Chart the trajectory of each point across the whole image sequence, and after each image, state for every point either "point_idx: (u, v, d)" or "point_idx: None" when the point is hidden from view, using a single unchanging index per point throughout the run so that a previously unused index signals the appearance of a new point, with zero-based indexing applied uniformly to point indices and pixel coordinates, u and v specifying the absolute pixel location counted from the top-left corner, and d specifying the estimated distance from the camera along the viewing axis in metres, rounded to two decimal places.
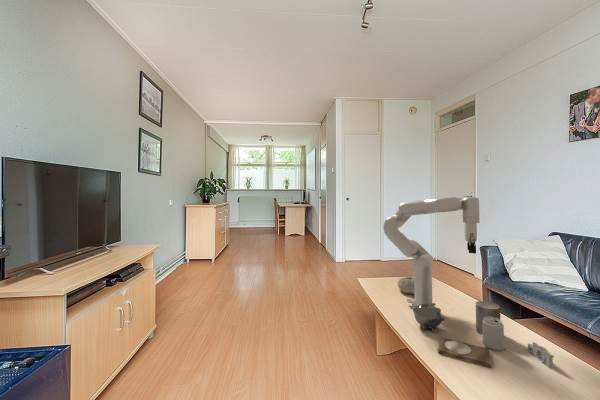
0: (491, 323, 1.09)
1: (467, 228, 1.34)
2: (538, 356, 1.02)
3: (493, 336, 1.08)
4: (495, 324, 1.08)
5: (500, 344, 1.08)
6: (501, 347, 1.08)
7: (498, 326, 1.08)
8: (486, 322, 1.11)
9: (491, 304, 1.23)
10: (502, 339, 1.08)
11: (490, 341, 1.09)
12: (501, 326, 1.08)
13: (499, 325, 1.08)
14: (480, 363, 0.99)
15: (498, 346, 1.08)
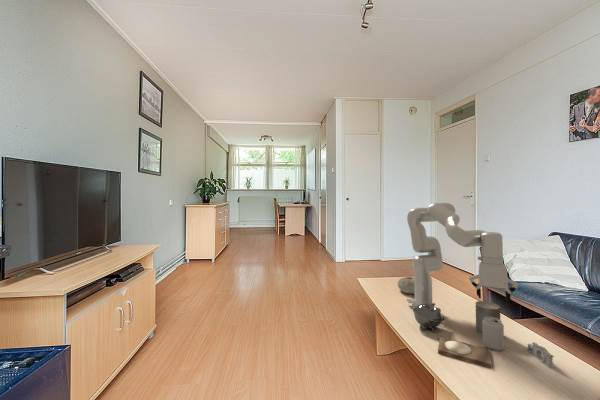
0: (491, 323, 1.09)
1: (506, 272, 1.07)
2: (538, 356, 1.02)
3: (493, 336, 1.08)
4: (495, 324, 1.08)
5: (500, 343, 1.08)
6: (501, 347, 1.08)
7: (498, 326, 1.08)
8: (486, 322, 1.11)
9: (491, 304, 1.23)
10: (502, 339, 1.08)
11: (490, 341, 1.09)
12: (501, 326, 1.08)
13: (499, 325, 1.08)
14: (480, 363, 0.99)
15: (498, 346, 1.08)
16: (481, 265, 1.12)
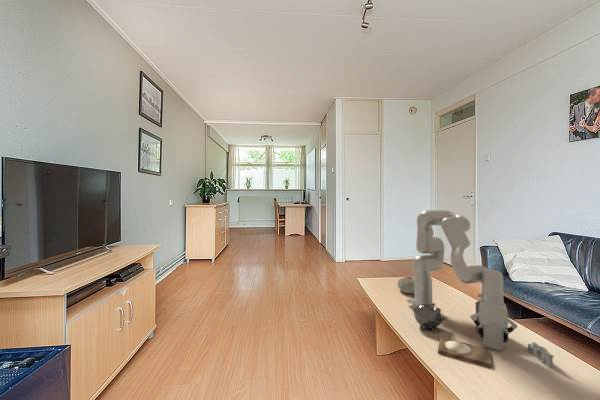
0: (491, 323, 1.09)
1: (506, 312, 1.07)
2: (538, 356, 1.02)
3: (493, 336, 1.08)
4: (495, 324, 1.08)
5: (500, 343, 1.08)
6: (501, 347, 1.08)
7: (498, 326, 1.08)
8: None
9: None
10: (502, 339, 1.08)
11: (490, 341, 1.09)
12: None
13: None
14: (480, 363, 0.99)
15: (498, 346, 1.08)
16: (481, 303, 1.12)
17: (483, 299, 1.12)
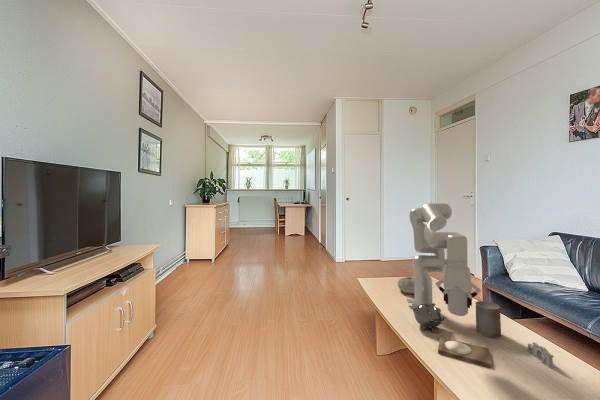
0: (455, 288, 1.06)
1: (470, 276, 1.04)
2: (538, 356, 1.02)
3: (457, 301, 1.05)
4: (459, 289, 1.06)
5: (463, 309, 1.05)
6: (464, 312, 1.05)
7: (462, 291, 1.05)
8: None
9: (491, 304, 1.23)
10: (466, 304, 1.05)
11: (454, 306, 1.06)
12: None
13: None
14: (480, 363, 0.99)
15: (462, 311, 1.05)
16: (446, 268, 1.09)
17: (447, 264, 1.09)
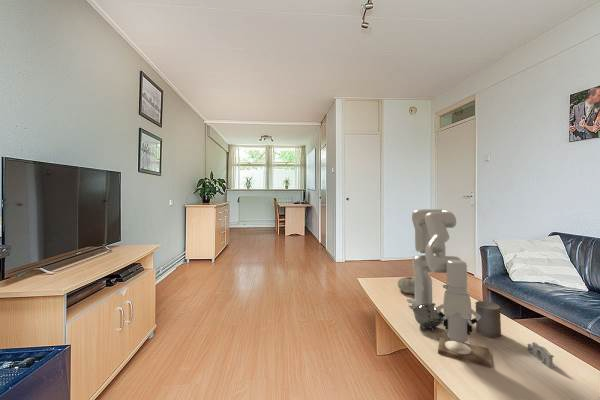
0: (455, 314, 1.06)
1: (470, 303, 1.04)
2: (538, 356, 1.02)
3: (457, 327, 1.05)
4: (459, 315, 1.05)
5: (463, 335, 1.05)
6: (465, 339, 1.05)
7: (461, 317, 1.05)
8: None
9: (491, 304, 1.23)
10: (466, 331, 1.05)
11: (454, 333, 1.06)
12: None
13: None
14: (480, 363, 0.99)
15: (462, 338, 1.05)
16: (446, 294, 1.09)
17: (447, 290, 1.09)
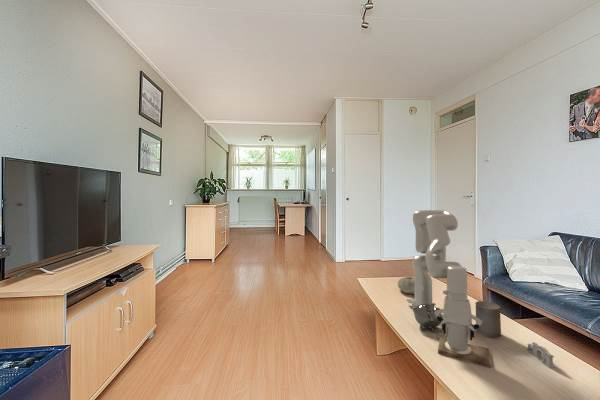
0: (455, 323, 1.06)
1: (470, 309, 1.04)
2: (538, 356, 1.02)
3: (456, 336, 1.05)
4: (458, 324, 1.06)
5: (463, 344, 1.05)
6: (464, 347, 1.05)
7: (461, 326, 1.05)
8: None
9: (491, 304, 1.23)
10: (465, 339, 1.05)
11: (454, 341, 1.06)
12: (464, 326, 1.05)
13: (462, 325, 1.05)
14: (480, 363, 0.99)
15: (462, 346, 1.05)
16: (446, 300, 1.09)
17: (447, 296, 1.09)
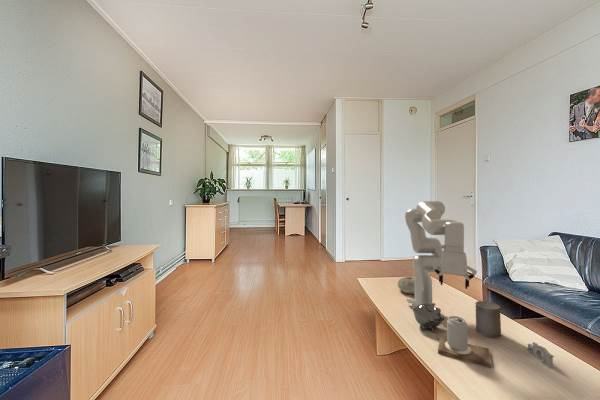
0: (455, 323, 1.06)
1: (466, 260, 1.11)
2: (538, 356, 1.02)
3: (456, 336, 1.05)
4: (458, 324, 1.06)
5: (463, 344, 1.05)
6: (464, 347, 1.05)
7: (461, 326, 1.05)
8: (450, 322, 1.08)
9: (491, 304, 1.23)
10: (465, 339, 1.05)
11: (454, 341, 1.06)
12: (464, 326, 1.05)
13: (462, 325, 1.05)
14: (480, 363, 0.99)
15: (462, 346, 1.05)
16: (443, 253, 1.16)
17: (445, 249, 1.16)
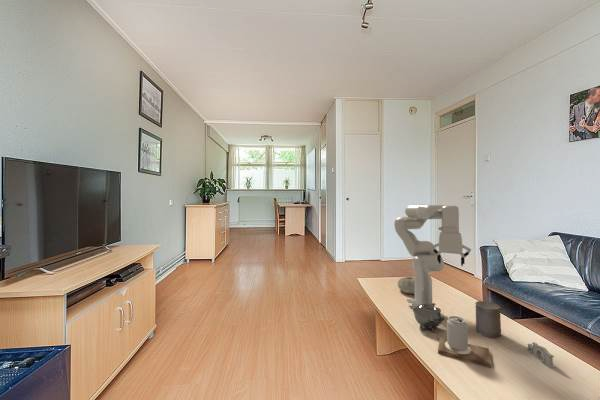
0: (455, 323, 1.06)
1: (461, 239, 1.24)
2: (538, 356, 1.02)
3: (456, 336, 1.05)
4: (458, 324, 1.06)
5: (463, 344, 1.05)
6: (464, 347, 1.05)
7: (461, 326, 1.05)
8: (450, 322, 1.08)
9: (491, 304, 1.23)
10: (465, 339, 1.05)
11: (454, 341, 1.06)
12: (464, 326, 1.05)
13: (462, 325, 1.05)
14: (480, 363, 0.99)
15: (462, 346, 1.05)
16: (441, 234, 1.28)
17: (442, 230, 1.28)
